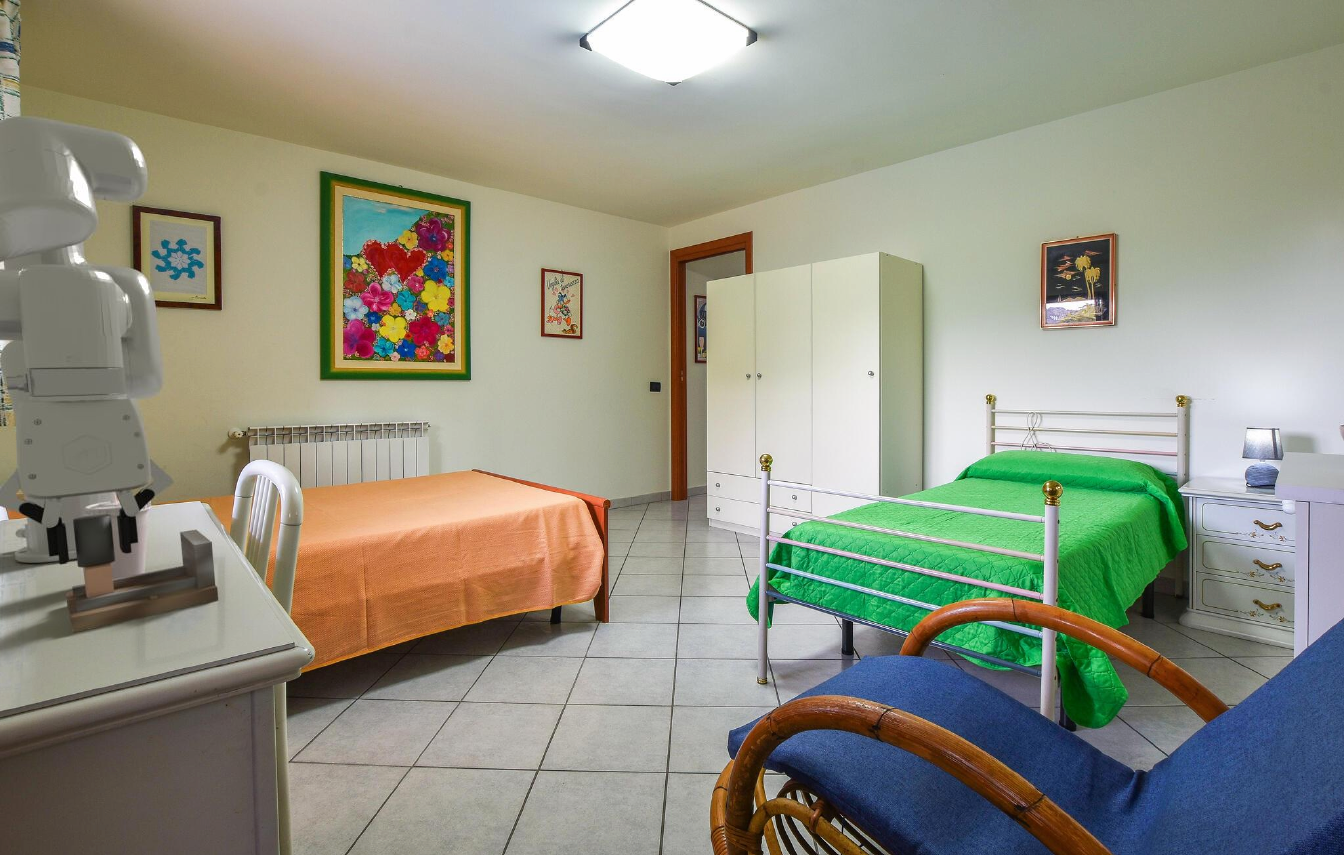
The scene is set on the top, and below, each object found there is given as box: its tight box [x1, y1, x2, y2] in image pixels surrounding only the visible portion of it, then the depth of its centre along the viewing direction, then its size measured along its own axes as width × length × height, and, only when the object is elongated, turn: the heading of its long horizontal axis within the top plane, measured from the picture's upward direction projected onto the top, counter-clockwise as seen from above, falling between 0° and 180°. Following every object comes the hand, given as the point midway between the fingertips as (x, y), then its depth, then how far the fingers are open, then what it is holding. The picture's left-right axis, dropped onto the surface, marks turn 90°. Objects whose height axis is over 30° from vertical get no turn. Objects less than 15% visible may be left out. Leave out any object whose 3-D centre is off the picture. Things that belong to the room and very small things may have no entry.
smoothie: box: [84, 492, 153, 579], centre depth 79 cm, size 6×6×14 cm
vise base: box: [65, 529, 219, 633], centre depth 71 cm, size 12×11×6 cm
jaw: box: [73, 514, 115, 598], centre depth 68 cm, size 3×5×9 cm, turn 46°
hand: (95, 554), depth 68 cm, fingers open, 4 cm apart
